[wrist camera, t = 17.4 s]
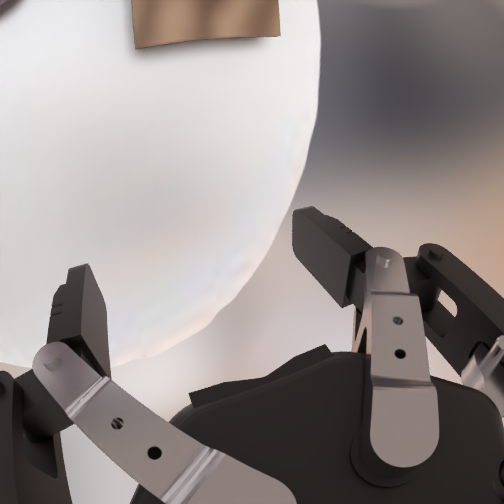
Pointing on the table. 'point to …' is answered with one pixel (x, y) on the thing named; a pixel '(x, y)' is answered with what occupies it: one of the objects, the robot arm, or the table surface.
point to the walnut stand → (202, 20)
